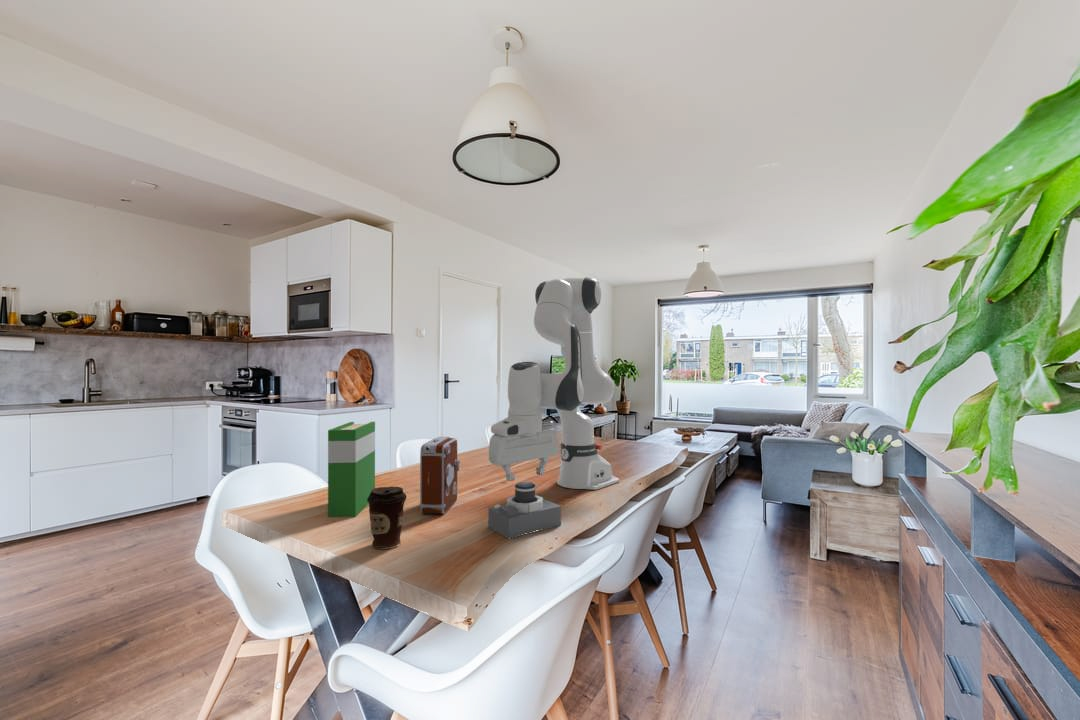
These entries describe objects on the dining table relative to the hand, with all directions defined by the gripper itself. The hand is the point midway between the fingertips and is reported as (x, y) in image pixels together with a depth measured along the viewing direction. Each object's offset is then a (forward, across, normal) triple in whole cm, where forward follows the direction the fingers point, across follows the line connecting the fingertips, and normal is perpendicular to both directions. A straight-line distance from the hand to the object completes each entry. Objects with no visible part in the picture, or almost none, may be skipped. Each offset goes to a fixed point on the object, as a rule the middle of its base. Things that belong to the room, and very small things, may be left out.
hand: (525, 477), depth 120 cm
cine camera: (+13, +11, -29) cm, 33 cm away
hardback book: (+13, +33, -43) cm, 55 cm away
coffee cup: (+12, +34, -9) cm, 37 cm away
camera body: (+13, +1, 0) cm, 13 cm away
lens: (+8, +1, 0) cm, 8 cm away
